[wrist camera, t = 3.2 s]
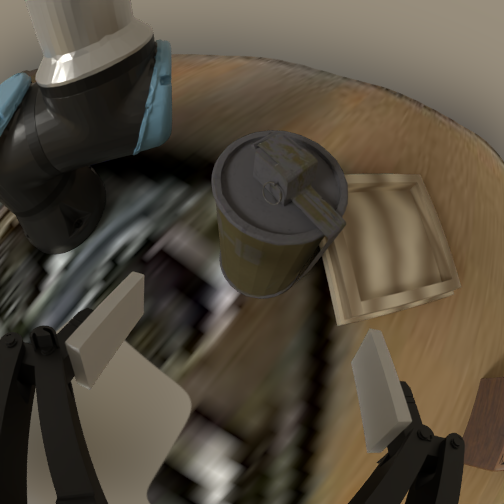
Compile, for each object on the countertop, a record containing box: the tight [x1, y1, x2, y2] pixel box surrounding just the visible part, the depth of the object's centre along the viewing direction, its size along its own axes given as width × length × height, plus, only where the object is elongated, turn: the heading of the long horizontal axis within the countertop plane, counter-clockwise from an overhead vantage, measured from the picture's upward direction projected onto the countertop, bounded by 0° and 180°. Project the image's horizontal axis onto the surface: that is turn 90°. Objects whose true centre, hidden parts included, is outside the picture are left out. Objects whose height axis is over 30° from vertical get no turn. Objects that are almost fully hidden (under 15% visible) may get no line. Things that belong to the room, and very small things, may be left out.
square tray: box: [319, 174, 461, 326], centre depth 37 cm, size 20×20×4 cm
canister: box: [212, 130, 348, 299], centre depth 28 cm, size 11×10×20 cm
